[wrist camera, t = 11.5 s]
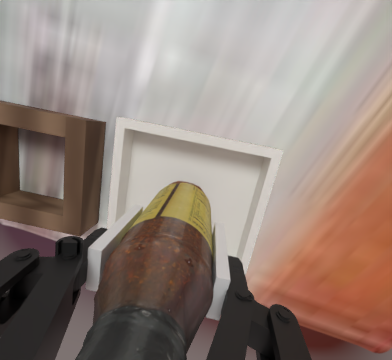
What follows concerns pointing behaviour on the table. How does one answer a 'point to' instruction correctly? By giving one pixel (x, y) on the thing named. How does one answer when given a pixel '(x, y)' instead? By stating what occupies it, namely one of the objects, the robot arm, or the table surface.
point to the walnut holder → (73, 170)
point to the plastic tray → (194, 176)
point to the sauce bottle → (156, 281)
